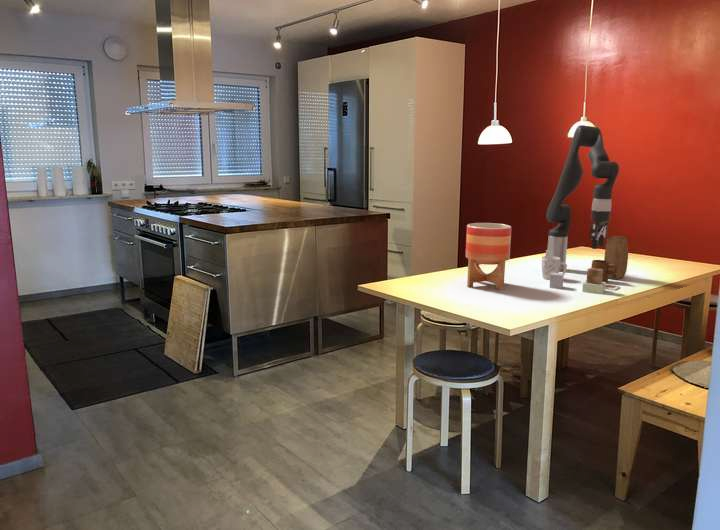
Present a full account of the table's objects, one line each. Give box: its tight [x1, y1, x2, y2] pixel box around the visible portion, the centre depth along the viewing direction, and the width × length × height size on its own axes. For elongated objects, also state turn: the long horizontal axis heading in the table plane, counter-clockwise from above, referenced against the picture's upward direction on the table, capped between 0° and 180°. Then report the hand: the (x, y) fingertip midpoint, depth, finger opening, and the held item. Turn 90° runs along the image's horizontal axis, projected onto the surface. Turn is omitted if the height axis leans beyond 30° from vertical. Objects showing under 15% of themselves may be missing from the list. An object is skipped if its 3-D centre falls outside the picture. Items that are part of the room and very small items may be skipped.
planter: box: [465, 222, 512, 291], centre depth 256 cm, size 20×20×27 cm
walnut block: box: [586, 267, 603, 285], centre depth 248 cm, size 5×5×6 cm
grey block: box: [549, 272, 565, 290], centre depth 255 cm, size 5×5×6 cm
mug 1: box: [541, 255, 568, 281], centre depth 272 cm, size 11×8×10 cm
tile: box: [605, 283, 621, 291], centre depth 256 cm, size 7×7×1 cm
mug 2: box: [590, 259, 618, 283], centre depth 267 cm, size 12×8×9 cm, turn 39°
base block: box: [581, 279, 606, 295], centre depth 249 cm, size 8×8×4 cm
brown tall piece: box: [603, 235, 629, 280], centre depth 275 cm, size 11×8×20 cm
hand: (597, 247), depth 246 cm, fingers open, 8 cm apart
